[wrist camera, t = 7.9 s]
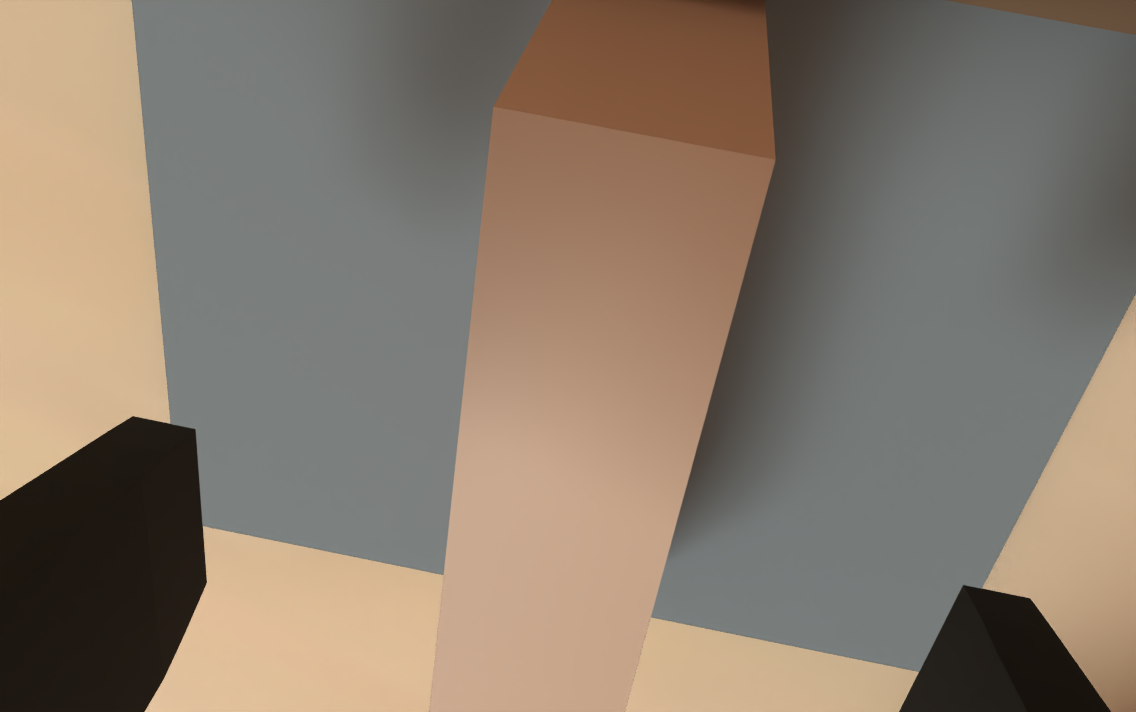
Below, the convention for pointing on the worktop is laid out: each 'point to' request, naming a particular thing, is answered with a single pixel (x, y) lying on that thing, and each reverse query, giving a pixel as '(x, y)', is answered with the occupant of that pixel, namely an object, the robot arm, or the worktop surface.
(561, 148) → the dusty pink block
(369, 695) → the worktop surface
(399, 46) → the slate mat
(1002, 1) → the walnut rack
